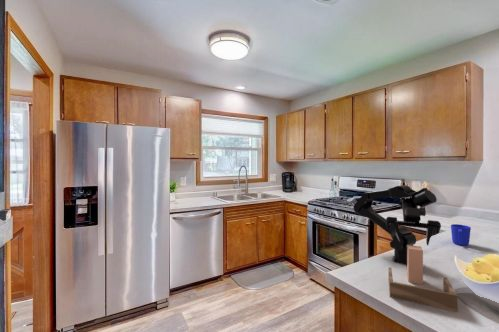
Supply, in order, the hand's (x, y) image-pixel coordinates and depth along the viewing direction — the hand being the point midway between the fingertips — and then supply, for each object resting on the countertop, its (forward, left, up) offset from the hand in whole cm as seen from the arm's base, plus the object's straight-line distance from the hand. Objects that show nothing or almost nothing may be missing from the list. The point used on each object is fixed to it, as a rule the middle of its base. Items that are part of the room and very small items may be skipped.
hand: (413, 243), depth 95 cm
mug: (-53, +27, -14) cm, 61 cm away
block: (+4, 0, -14) cm, 14 cm away
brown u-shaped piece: (+14, 0, -14) cm, 20 cm away
